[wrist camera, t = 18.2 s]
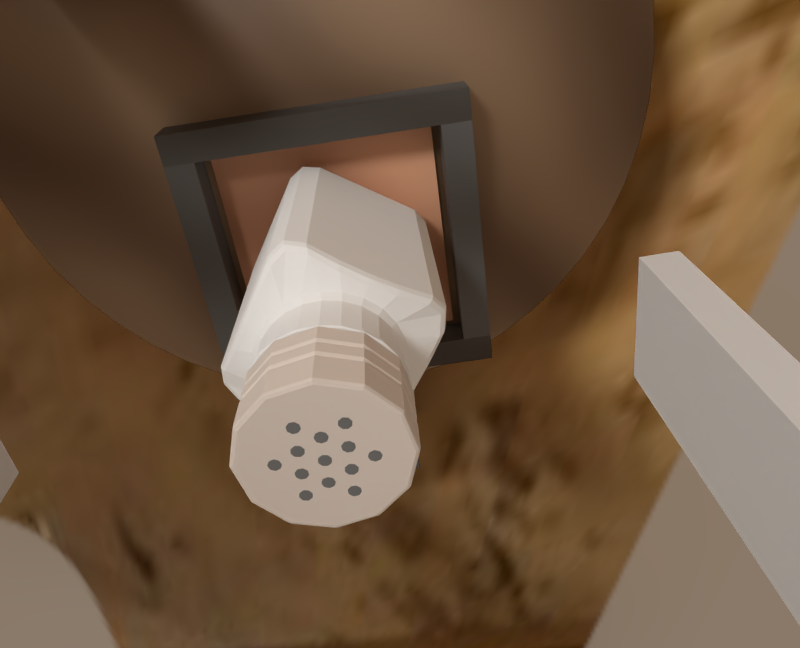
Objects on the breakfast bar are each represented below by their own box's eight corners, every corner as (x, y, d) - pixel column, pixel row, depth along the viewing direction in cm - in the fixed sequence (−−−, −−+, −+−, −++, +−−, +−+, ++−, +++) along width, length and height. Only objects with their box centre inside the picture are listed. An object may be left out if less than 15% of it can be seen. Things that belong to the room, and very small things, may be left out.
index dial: (383, 435, 26) (392, 616, 19) (-112, 157, 20) (-371, 269, 13) (758, 21, 19) (986, 62, 12) (189, -578, 13) (-2, -1172, 6)
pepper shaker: (373, 323, 21) (382, 570, 13) (249, 274, 20) (171, 508, 12) (431, 211, 19) (487, 410, 11) (300, 152, 18) (251, 321, 10)
